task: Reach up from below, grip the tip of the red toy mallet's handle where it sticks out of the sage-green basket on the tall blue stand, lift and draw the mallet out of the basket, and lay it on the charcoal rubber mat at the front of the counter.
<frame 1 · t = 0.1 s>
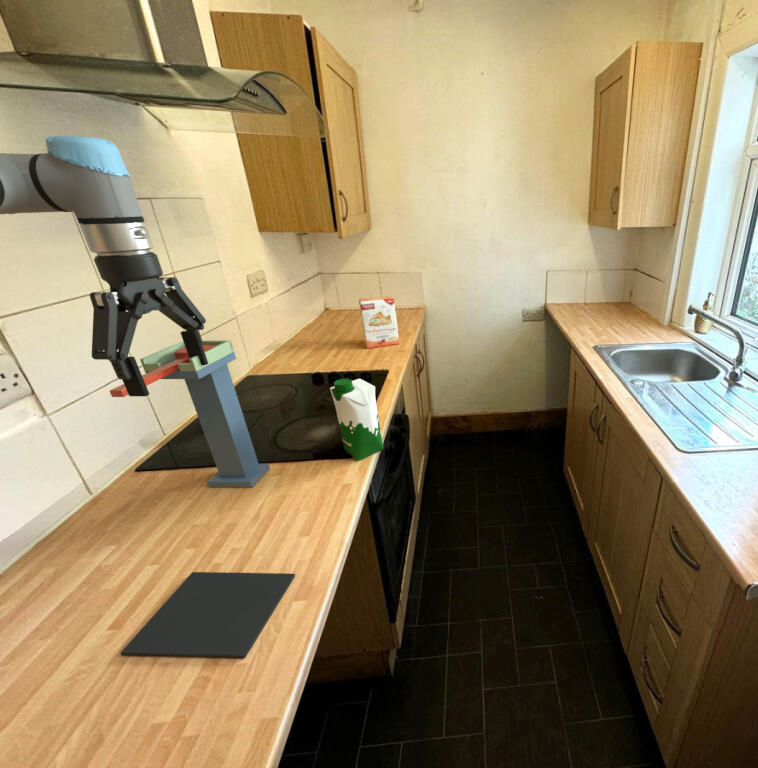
hand: (172, 378, 73), 31 cm above the table, tool pointing down, fingers open, 13 cm apart
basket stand: (235, 483, 95), on the table
cracker box: (383, 345, 184), on the table
red toy mallet: (157, 377, 75), point 30 cm above the table, touching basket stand
mat: (216, 612, 65), on the table
milk carton: (364, 450, 107), on the table
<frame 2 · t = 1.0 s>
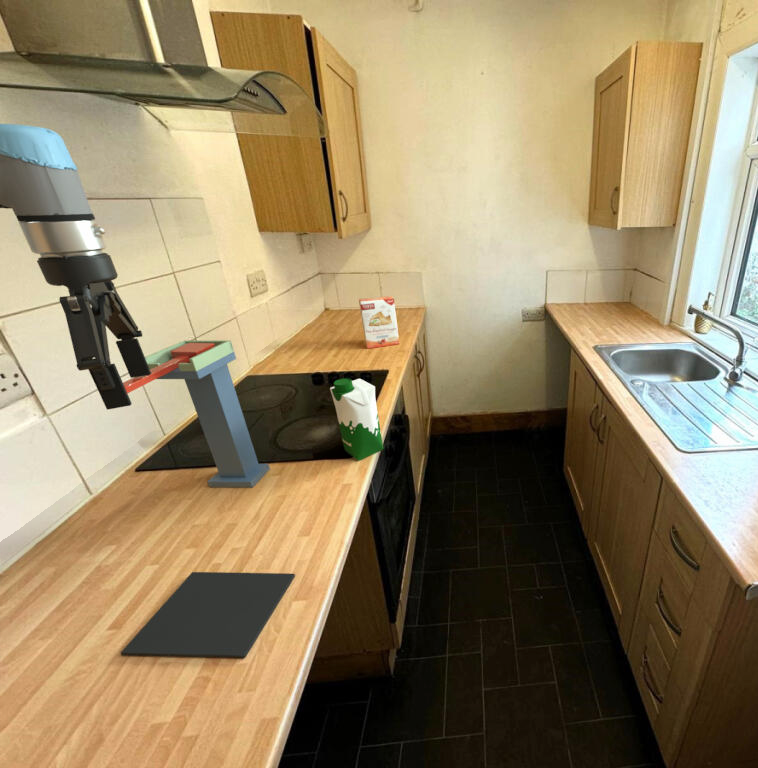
hand: (131, 390, 67), 31 cm above the table, tool pointing down, fingers open, 13 cm apart
red toy mallet: (151, 378, 75), point 30 cm above the table, touching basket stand, gripper
everything else where it was.
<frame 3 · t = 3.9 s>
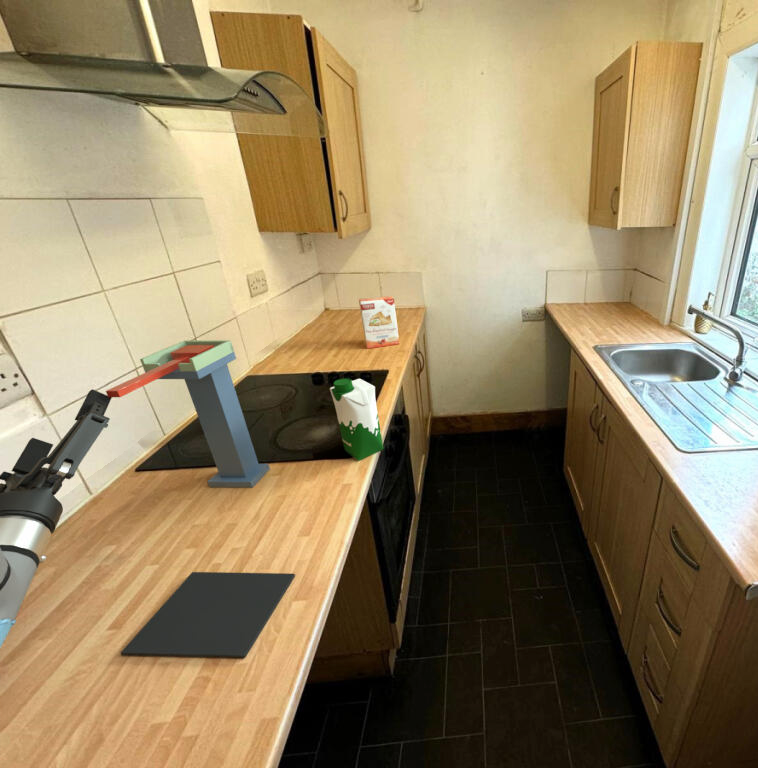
hand: (70, 418, 68), 27 cm above the table, tool pointing upward, fingers open, 13 cm apart
red toy mallet: (154, 378, 75), point 30 cm above the table, touching gripper
everything else where it was.
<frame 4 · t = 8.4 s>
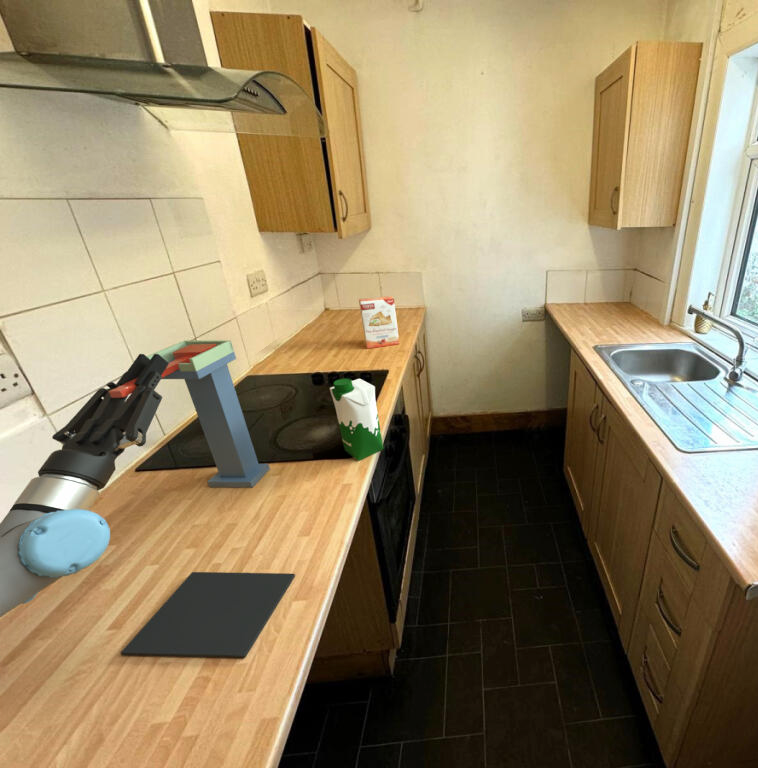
hand: (154, 359, 74), 33 cm above the table, tool pointing upward, fingers closed on red toy mallet, 2 cm apart
red toy mallet: (156, 378, 75), point 30 cm above the table, touching gripper
everything else where it was.
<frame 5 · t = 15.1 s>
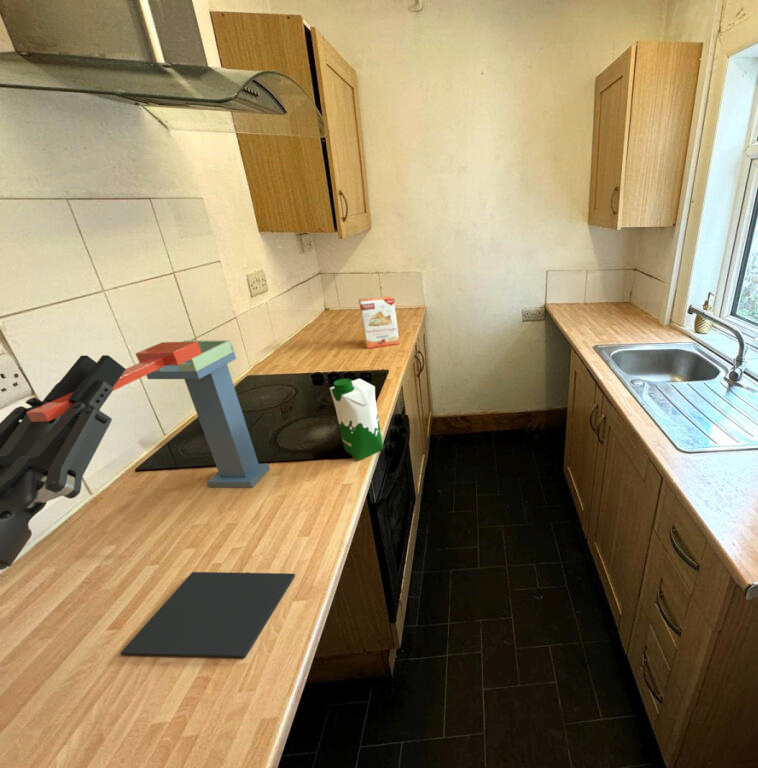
hand: (103, 362, 51), 41 cm above the table, tool pointing upward, fingers closed on red toy mallet, 2 cm apart
red toy mallet: (108, 390, 52), point 38 cm above the table, touching gripper
everything else where it was.
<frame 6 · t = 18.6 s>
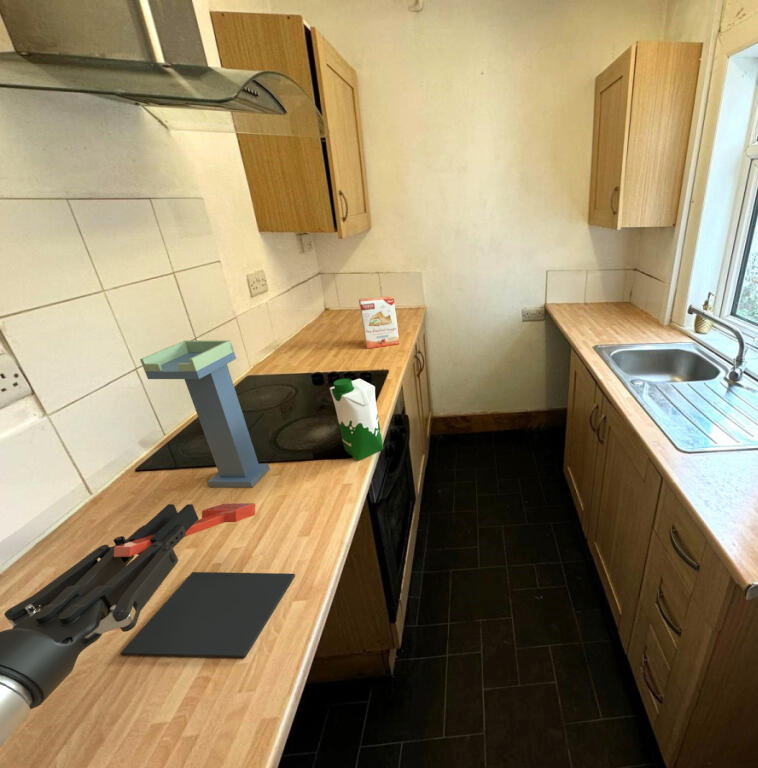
hand: (183, 511, 59), 19 cm above the table, tool horizontal, fingers closed on red toy mallet, 2 cm apart
red toy mallet: (176, 537, 58), point 16 cm above the table, tilted 28°, touching gripper
everything else where it was.
when the fingers open (9 cm above the table, at t = 21.9 s): red toy mallet drops 6 cm, resting on mat.
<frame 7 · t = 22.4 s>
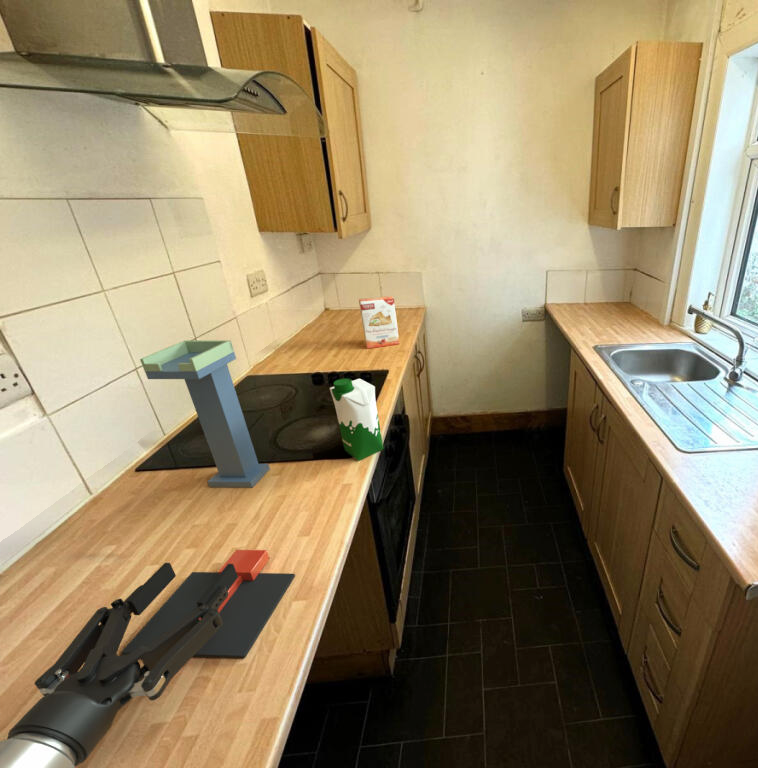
hand: (201, 569, 62), 8 cm above the table, tool horizontal, fingers open, 9 cm apart
red toy mallet: (203, 625, 63), point 1 cm above the table, touching mat
everything else where it was.
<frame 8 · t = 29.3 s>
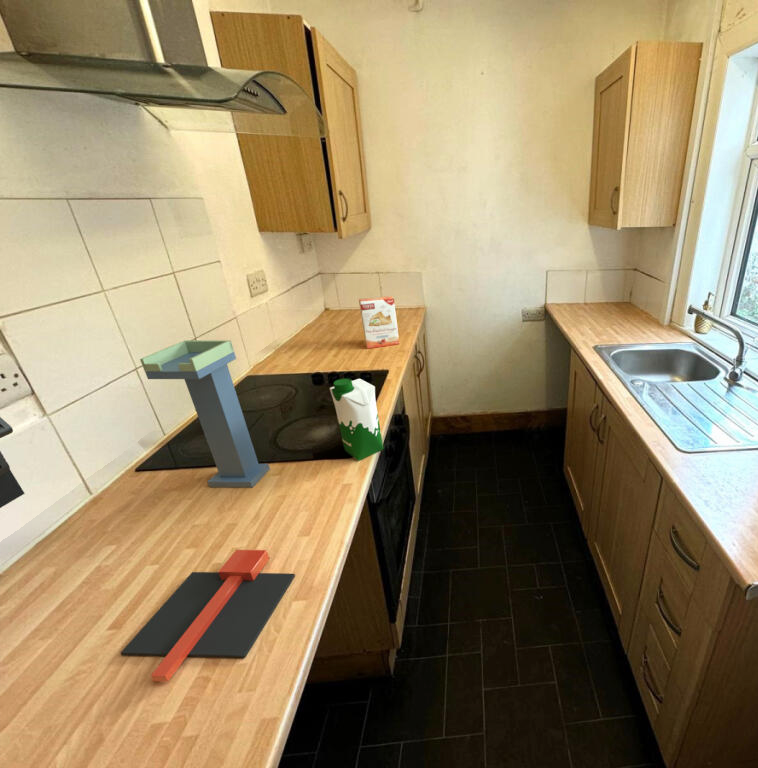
nothing on the table moved.
at the end: red toy mallet inside the target area on the mat (2.6 cm from its centre), point 0.6 cm above the mat's base; red toy mallet touching mat; the gripper is holding nothing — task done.
